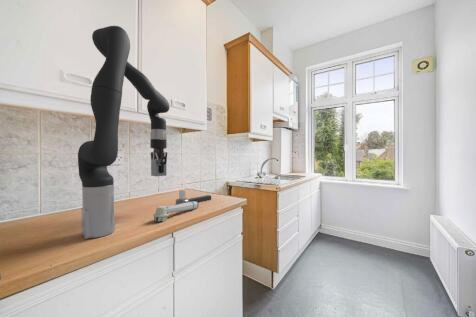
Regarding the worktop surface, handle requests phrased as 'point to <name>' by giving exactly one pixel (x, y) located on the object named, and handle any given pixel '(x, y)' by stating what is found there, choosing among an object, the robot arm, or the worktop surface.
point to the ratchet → (185, 200)
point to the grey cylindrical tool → (173, 210)
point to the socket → (157, 168)
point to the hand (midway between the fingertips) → (158, 172)
